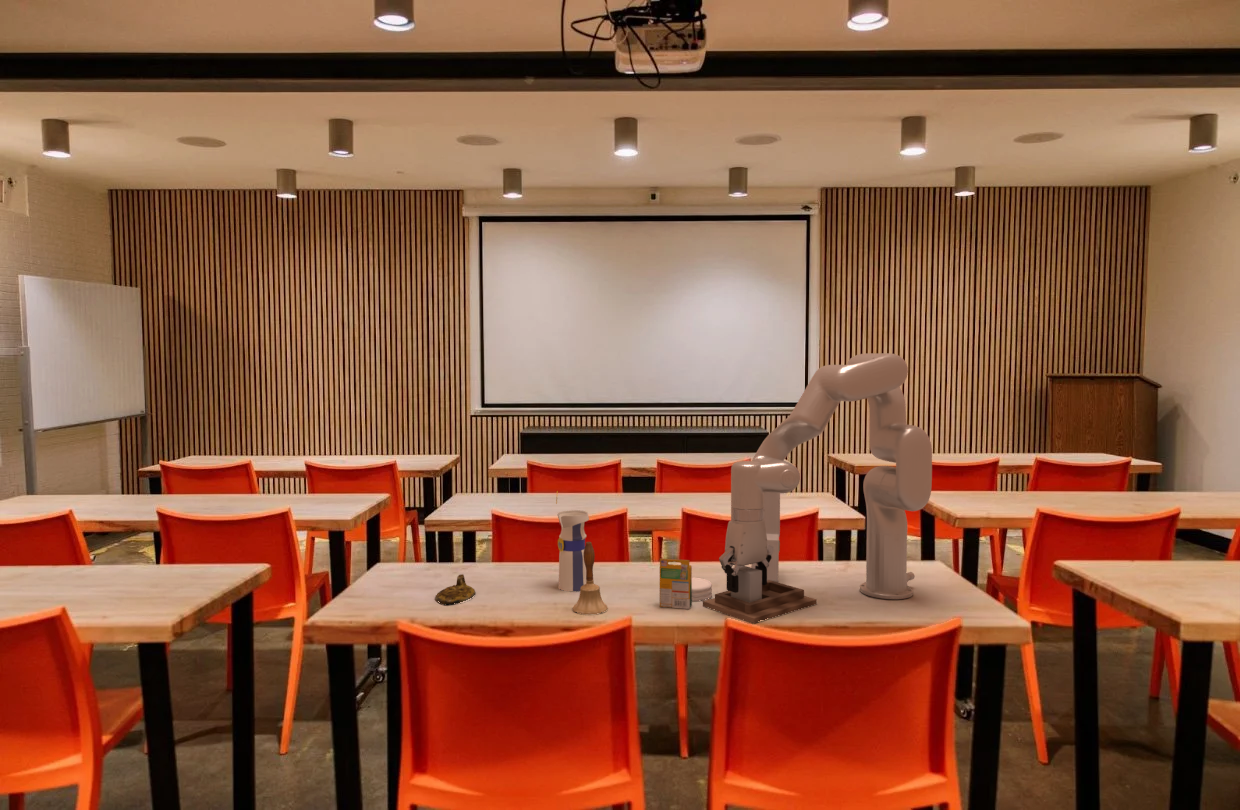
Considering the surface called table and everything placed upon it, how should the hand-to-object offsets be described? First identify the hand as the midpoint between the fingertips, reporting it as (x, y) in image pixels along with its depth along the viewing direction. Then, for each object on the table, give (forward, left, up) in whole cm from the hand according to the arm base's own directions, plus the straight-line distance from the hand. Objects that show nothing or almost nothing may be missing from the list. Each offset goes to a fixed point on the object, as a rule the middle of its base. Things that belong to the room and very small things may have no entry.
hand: (746, 587), depth 183 cm
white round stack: (+2, -16, -6) cm, 17 cm away
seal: (+48, -52, -6) cm, 71 cm away
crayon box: (+11, -12, -5) cm, 17 cm away
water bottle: (+21, -40, -5) cm, 46 cm away
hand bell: (+28, -23, -5) cm, 37 cm away
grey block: (0, 0, -4) cm, 4 cm away
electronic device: (-24, -15, -5) cm, 28 cm away
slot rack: (-5, 0, -5) cm, 7 cm away
